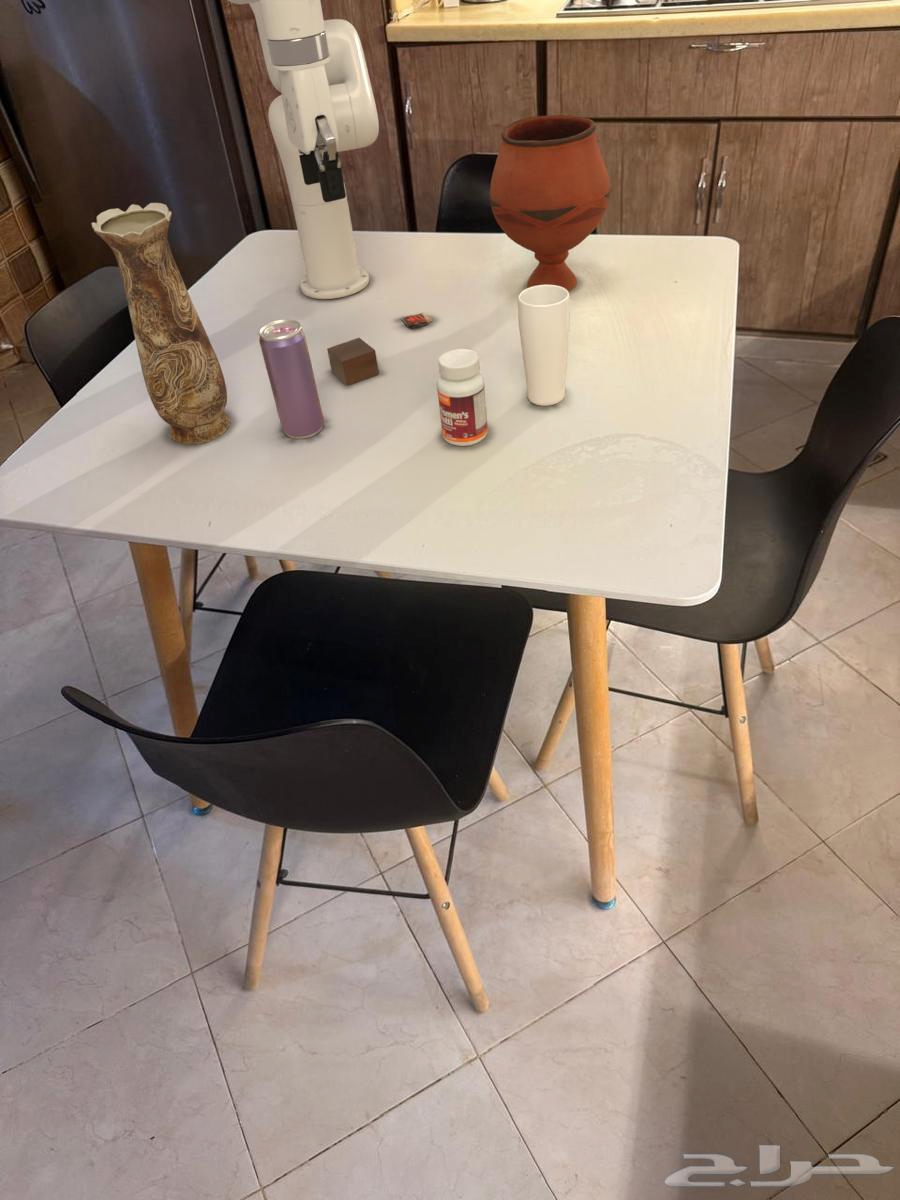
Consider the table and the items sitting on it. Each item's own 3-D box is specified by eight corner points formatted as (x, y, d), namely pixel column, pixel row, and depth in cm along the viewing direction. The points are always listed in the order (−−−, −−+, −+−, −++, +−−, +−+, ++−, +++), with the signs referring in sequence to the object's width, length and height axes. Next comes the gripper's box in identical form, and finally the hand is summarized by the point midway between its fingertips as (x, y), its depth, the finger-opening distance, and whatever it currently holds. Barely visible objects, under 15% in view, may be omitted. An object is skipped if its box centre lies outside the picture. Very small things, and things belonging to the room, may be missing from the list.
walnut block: (331, 372, 134) (326, 348, 132) (363, 361, 136) (359, 337, 133) (347, 386, 131) (342, 361, 128) (379, 374, 132) (375, 349, 130)
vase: (229, 403, 130) (166, 193, 110) (243, 436, 123) (178, 218, 103) (160, 421, 128) (83, 211, 108) (170, 456, 121) (89, 238, 100)
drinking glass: (574, 387, 124) (574, 284, 114) (565, 411, 119) (565, 306, 109) (527, 384, 126) (523, 283, 116) (517, 409, 121) (512, 305, 111)
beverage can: (317, 441, 120) (294, 339, 110) (277, 440, 121) (250, 339, 111) (330, 418, 124) (308, 318, 114) (291, 417, 125) (266, 318, 115)
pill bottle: (435, 443, 116) (425, 366, 109) (454, 420, 120) (446, 344, 113) (477, 450, 114) (470, 372, 107) (495, 426, 118) (489, 349, 111)
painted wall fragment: (412, 330, 142) (412, 327, 142) (396, 320, 145) (396, 318, 145) (436, 321, 144) (436, 318, 143) (420, 312, 147) (420, 309, 147)
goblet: (495, 267, 158) (486, 115, 142) (602, 258, 157) (605, 103, 140) (495, 312, 144) (485, 150, 128) (612, 303, 143) (617, 137, 126)
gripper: (256, 48, 118) (284, 182, 129) (288, 66, 105) (316, 213, 117) (309, 38, 119) (332, 171, 131) (346, 55, 107) (368, 200, 118)
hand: (325, 191), depth 124 cm, fingers open, 9 cm apart
